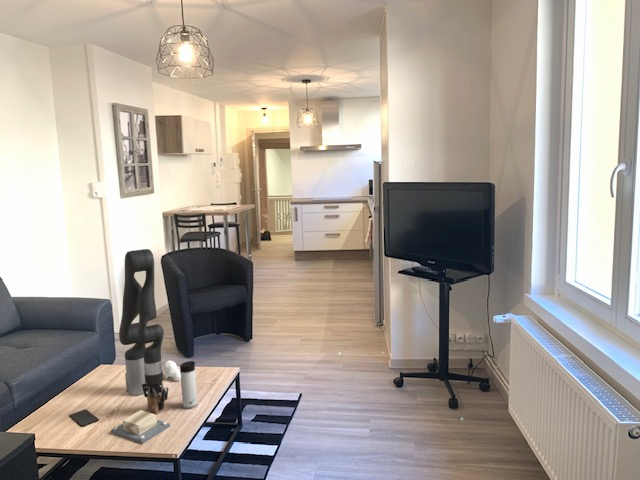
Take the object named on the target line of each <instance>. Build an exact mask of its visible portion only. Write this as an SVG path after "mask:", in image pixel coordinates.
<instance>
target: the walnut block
mask: <svg viewBox="0 0 640 480" xmlns="http://www.w3.org/2000/svg"><path fill="white" fill-rule="evenodd" d="M159 394H160V393H159ZM159 394H158V395H159ZM160 399H161V396H160ZM146 401H147V412H148V413H152V414H155V415H156V416H158V415H159V414H160V413H162V412H164V411H166V402H165V401H166V400H165V401H164V408H163V409H162V410H159V407H158V398H156V397H155V394H152V395H151V396H148V397H146Z"/></svg>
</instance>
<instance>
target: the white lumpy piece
mask: <svg viewBox="0 0 640 480" xmlns="http://www.w3.org/2000/svg"><path fill="white" fill-rule="evenodd" d="M162 366H163V374H165V380H168V379H169V377H171V378H173V381H175V382H181V374H180V368H178V365H177V363H176V362H175V361H174V360H166V362H165V363H163V365H162Z"/></svg>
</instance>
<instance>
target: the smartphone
mask: <svg viewBox="0 0 640 480" xmlns="http://www.w3.org/2000/svg"><path fill="white" fill-rule="evenodd" d="M68 417H69V418H70V419H71V420H72V421H74V422H75V423H76V424H77V425H78V426H80V427H82V428H85V427H87V426H90V425H93V424H96V423H97V422H99V421H100V418H99V417H97V416H96V415H94V414H93V413H91V412H90V411H89V410H88V409H82V410H79V411H76V412H73V413H71V414H69V415H68Z"/></svg>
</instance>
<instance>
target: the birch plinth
mask: <svg viewBox="0 0 640 480" xmlns="http://www.w3.org/2000/svg"><path fill="white" fill-rule="evenodd" d="M157 416H158V415H155V414H152V413H148V411H145V410H142V409H140V410H139V411H136V412H135V413H134V414H132V415H130V416H127V417H126V418H124V419H122V423H123V429H124V430H126V431H129V432H132V433H135V434H138V435H140V434H142V433H143V432H145V431H147V430H148V429H150V428H152V427H153V426H155V425H157V420H158V419H157Z"/></svg>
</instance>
